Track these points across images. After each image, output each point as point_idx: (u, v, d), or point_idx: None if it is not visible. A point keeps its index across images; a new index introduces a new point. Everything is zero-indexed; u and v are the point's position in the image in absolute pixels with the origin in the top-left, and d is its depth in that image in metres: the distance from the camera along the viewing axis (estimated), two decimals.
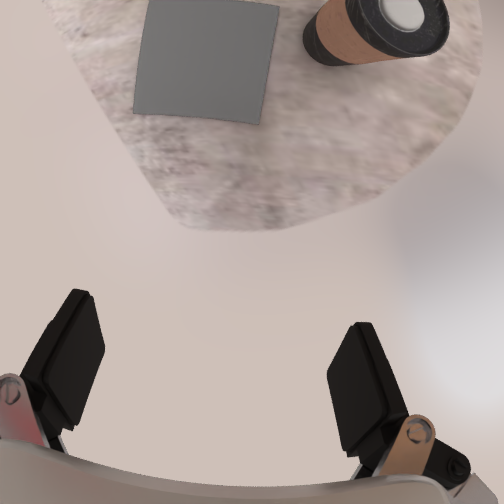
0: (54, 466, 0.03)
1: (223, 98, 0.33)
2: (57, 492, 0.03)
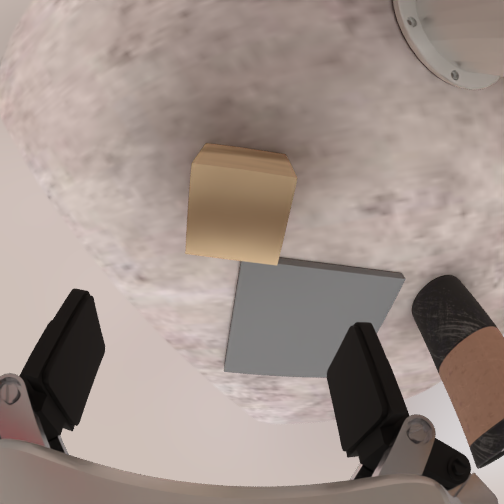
0: (54, 466, 0.03)
1: (322, 364, 0.33)
2: (57, 492, 0.03)
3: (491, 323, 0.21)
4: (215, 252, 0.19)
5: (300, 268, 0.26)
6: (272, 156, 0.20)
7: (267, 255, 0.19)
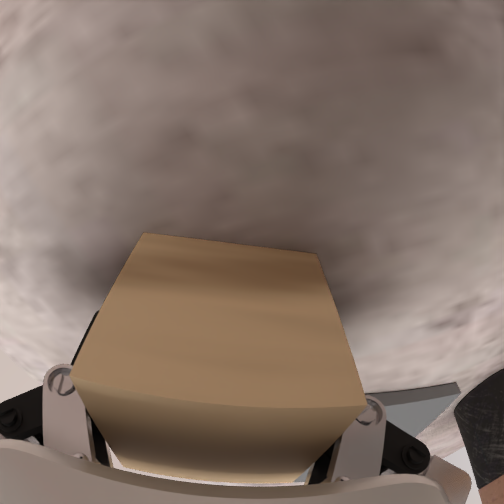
0: (54, 466, 0.03)
1: None
2: (57, 492, 0.03)
3: None
4: (175, 474, 0.08)
5: None
6: (291, 276, 0.09)
7: (275, 478, 0.08)
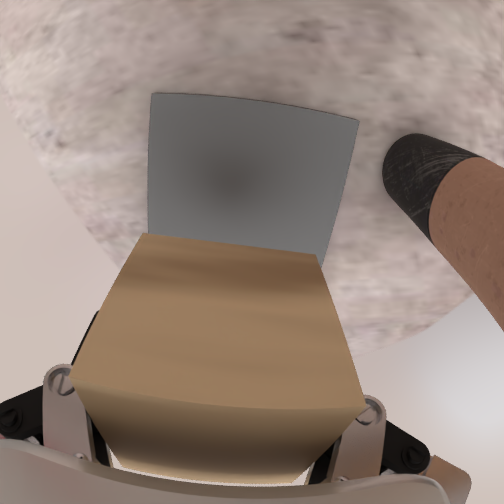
0: (54, 466, 0.03)
1: None
2: (57, 492, 0.03)
3: None
4: (175, 474, 0.08)
5: (217, 99, 0.20)
6: (290, 276, 0.09)
7: (274, 479, 0.08)
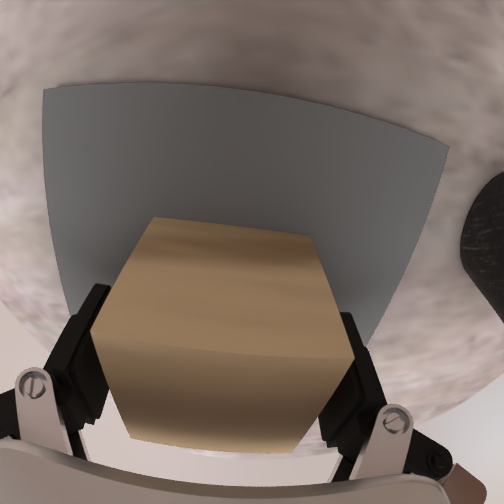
0: (54, 466, 0.03)
1: None
2: (57, 492, 0.03)
3: None
4: (181, 443, 0.09)
5: (163, 88, 0.09)
6: (286, 252, 0.10)
7: (275, 447, 0.09)
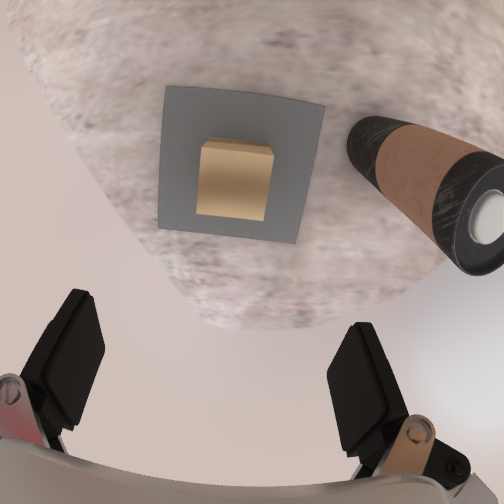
0: (54, 466, 0.03)
1: None
2: (57, 492, 0.03)
3: None
4: (218, 211, 0.26)
5: (215, 91, 0.26)
6: (258, 144, 0.28)
7: (255, 213, 0.27)
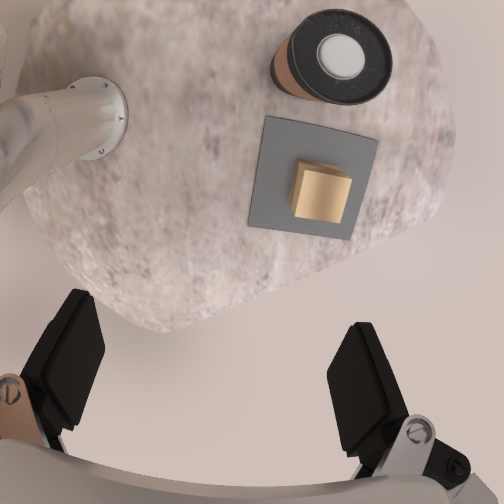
0: (54, 466, 0.03)
1: (353, 168, 0.39)
2: (57, 492, 0.03)
3: (275, 54, 0.26)
4: (340, 209, 0.36)
5: (254, 193, 0.41)
6: (296, 169, 0.38)
7: (345, 184, 0.34)
